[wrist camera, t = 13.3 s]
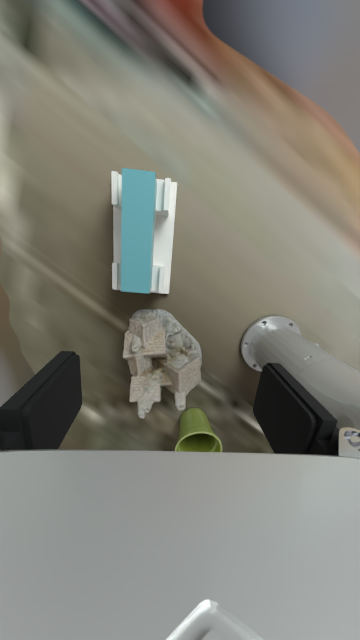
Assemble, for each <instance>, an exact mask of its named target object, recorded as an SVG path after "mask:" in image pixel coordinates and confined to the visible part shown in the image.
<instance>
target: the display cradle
mask: <svg viewBox="0 0 360 640" xmlns="http://www.w3.org/2000/svg"><path fill="white" fill-rule="evenodd" d="M156 180H157V194H156V213H155V232H154V251H153V269H152V288H151V291H150V293H162V294H169V284H170V270H171V257H172V244H173V231H174V218H175V204H176V191H177V183H176V182H171V178H165V180H160V179H156ZM112 205H113V247H114V263H112V289H114V290H121V212H122V175H119V174H118V172H115V171H112Z"/></svg>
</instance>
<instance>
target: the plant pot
mask: <svg viewBox="0 0 360 640" xmlns="http://www.w3.org/2000/svg"><path fill="white" fill-rule="evenodd" d="M175 451H185V452H222V444H221V441H220V439H219V438H218V437H217V436H216V435H215V434H214V432H213V430H212V428H211V426H210V423H209V421H208V419H207V416H206V414H205V413H204V412H203V410H201V409H199V408H190V409H188V410H187V411H184V412H183V413H182V415H181V417H180V429H179V439H178V442H177V444H176V446H175Z"/></svg>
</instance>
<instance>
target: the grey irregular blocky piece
mask: <svg viewBox="0 0 360 640" xmlns="http://www.w3.org/2000/svg"><path fill="white" fill-rule="evenodd" d="M129 322H130V323H129V327H128V331H126V333H125V339H124V350H123V358H124V359H126V360H128V365H129V369H130V372H131V374H132V377H131V384H130V399H129V400H130V402H138V416H139V418H144V417H145V413H148V412H149V411H150V410H151V408H152V404H153V403H154V402H160V400H161V388H162V387H166V388H167V389H168V390H169V391H171V392H172V393H174V394H175V406H176V408H177V409H178V410H184V409H185V407H186V395H187V394H188V393H189V392H190V391H191V389H192V388H194V387H195V386H196V385H197V384H198V383H200V382H201V372H200V367H201V365H202V364H201V362H202V354H201V348H200V345H199V343H198V342H197V341H196V340H195V338H194V337H193V336H192V335H190V333H189V332H188V331H187V330H185V328H184V327H182V326H181V324H180V323H179V322H178V321H177V320H176V319H175V318H174V317H173V316H172V315H171V314H170V313H168V312H167V311H165V310H161V309H153V310H149V309H146V310H145V309H142V310H138V311H137V312H135V313H134V314H133V315H132V317H131V319H129Z"/></svg>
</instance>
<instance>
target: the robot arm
mask: <svg viewBox="0 0 360 640" xmlns="http://www.w3.org/2000/svg"><path fill="white" fill-rule="evenodd" d="M262 322H263V323H262ZM241 354H242V356H243V359H244V360H245V362H246V363H247V364H248V365H249V366H250V367H251V368H253V369H255V370H257V371H260V372H262V373H261V377H260V381H259V385H258V389H257V394H256V398H255V402H254V406H253V413H254V416H255V417H256V419H257V421H258V423H259V425H260V427H261V429H262V431H263V432H264V434H265V436H266V438H267V440H268V442H269V444H270V446H271V447H272V449H273V451H274V453H234V452H185V451H133V450H67V449H58V448H59V446H60V444H61V442H62V441H63V439H64V437H65V435H66V433H67V432H68V430H69V428H70V426H71V424H72V423H73V421H74V419H75V417H76V416H77V414H78V412H79V410H80V408H81V405H82V391H81V374H80V358H79V355H76V353H75V352H70V351H61V352H60V353H59V354H58V355H56V356H55V357H54V358H53V359H52V360H51V361H50V362H49V363H48V364H47V365H46V366H45V367H43V368H42V369H41V370H40V371H39V372H38V373H37V374H36V375H35V376H34V377H33V378H32V379H30V380H29V381H28V382H27V383H26V384H25V385H24V386H23V387H22V388H21V389H20V390H19V391H18V392H17V393H15V394H14V395H13V396H12V397H11V398H10V399H9V400H8V401H7V402H6V403H4V404H3V405H2V406H1V407H0V640H360V372H358V371H357V370H355V369H353V368H352V367H350V366H349V365H347V364H345V363H344V362H342V361H340V360H339V359H337V358H336V357H334V356H332V355H331V354H329V353H328V352H326V351H324V350H323V349H321V348H320V347H319V344H318V343H312V342H310V341H308V340H307V339H305V338H304V337H302V335H301V331H300V329H299V328H298V326H297V325H296V324H295V323H294V322H293V321H291V320H290V319H288V318H286V317H283V316H277V315H273V316H267V317H263V318H261V319H259V320H257V321H256V322H254V323H253V324H252V325H251V326H250V327H249V328H248V329H247V330H246V332H245V333H244V335H243V338H242V341H241Z"/></svg>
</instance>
